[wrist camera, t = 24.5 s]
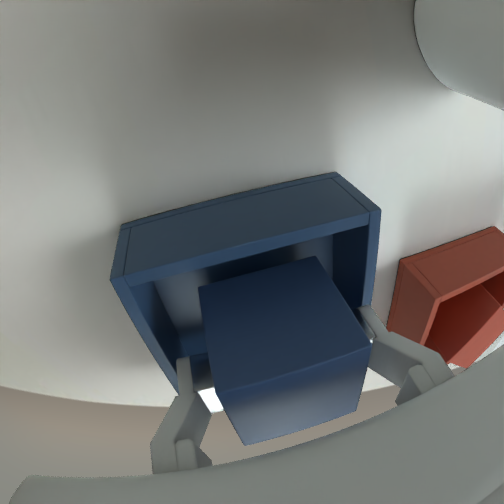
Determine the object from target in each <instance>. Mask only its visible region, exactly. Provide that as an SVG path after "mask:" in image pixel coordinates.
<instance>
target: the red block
mask: <svg viewBox="0 0 504 504" xmlns="http://www.w3.org/2000/svg"><path fill="white" fill-rule="evenodd" d="M503 331H504V310H503V308H502V306H501V305H500V304H499V303H498V302H497V301H496V300H495V298H494V297H493V296H492V295H491V294H490V293H489V292H488V291H487V290H486V289H485V288H484V287H483V286H482V285H481V284H478V285H476V286H474V287H472V288H470V289H468V290H466V291H464V292H462V293H460V294H458V295H456V296H453V297H451V298H449V299H447V300H445V301H443V302H440V303H439V306H438V309H437V312H436V315H435V318H434V320H433V323H432V326H431V329H430V331H429V334H428V335H429V337H430V338H431V339H432V341H433V342H434V343H435V345H436V346H437V348H438V349H439V350H440V352H441V353H442V355H443V356H444V357H445V359H446V360H447V362H450V363H453V364H455V365H458V366H461V367H464V368H466V369H467V368H468V367H469V366H470V365H471V364H472V363H473V362H474V361H475V360H476V359H477V358H478V357H479V356H480V355H481V354H482V353H483V352H484V351H485V350H486V349H487V348H488V347H489V346H490V345H491V344H492V343H493V342H494V341H495V340H496V339H497V337H498V336H499V335H500V334H501V333H502V332H503Z"/></svg>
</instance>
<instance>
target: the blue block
mask: <svg viewBox="0 0 504 504" xmlns="http://www.w3.org/2000/svg"><path fill="white" fill-rule="evenodd" d="M198 295H199V302H200V308H201V315H202V321H203V327H204V333H205V339H206V345H207V351H208V357H209V362H210V368H211V374H212V379H213V384H214V390H215V394H216V396H217V398H218V399H219V401H220V403H221V405H222V407H223V409H224V411H225V412H226V414H227V416H228V418H229V420H230V421H231V423H232V425H233V427H234V429H235V430H236V432H237V434H238V436H239V437H240V439H241V441H242V443H243V444H244V445H245V446H246V445H251V444H254V443H259V442H262V441H266V440H270V439H274V438H277V437H281V436H284V435H288V434H291V433H294V432H297V431H301V430H304V429H307V428H310V427H313V426H316V425H319V424H322V423H325V422H328V421H330V420H333V419H336V418H339V417H341V416H344V415H346V414H349V413H351V412H354V411H356V409H357V406H358V402H359V398H360V395H361V391H362V387H363V383H364V379H365V375H366V371H367V367H368V363H369V358H370V354H371V349H372V344H371V342H370V340H369V339H368V337H367V335H366V334H365V332H364V330H363V329H362V327H361V326H360V324H359V322H358V321H357V319H356V317H355V316H354V314H353V313H352V311H351V309H350V308H349V306H348V305H347V303H346V301H345V300H344V298H343V297H342V295H341V294H340V292H339V290H338V289H337V287H336V286H335V284H334V283H333V281H332V280H331V278H330V276H329V275H328V273H327V272H326V270H325V269H324V267H323V266H322V264H321V263H320V261H319V260H318V258H317V257H316V256H311V257H308V258H304V259H301V260H297V261H293V262H290V263H286V264H282V265H279V266H275V267H271V268H267V269H264V270H260V271H256V272H253V273H249V274H245V275H241V276H237V277H234V278H230V279H226V280H222V281H218V282H215V283H211V284H207V285H203V286H199V287H198Z"/></svg>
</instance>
